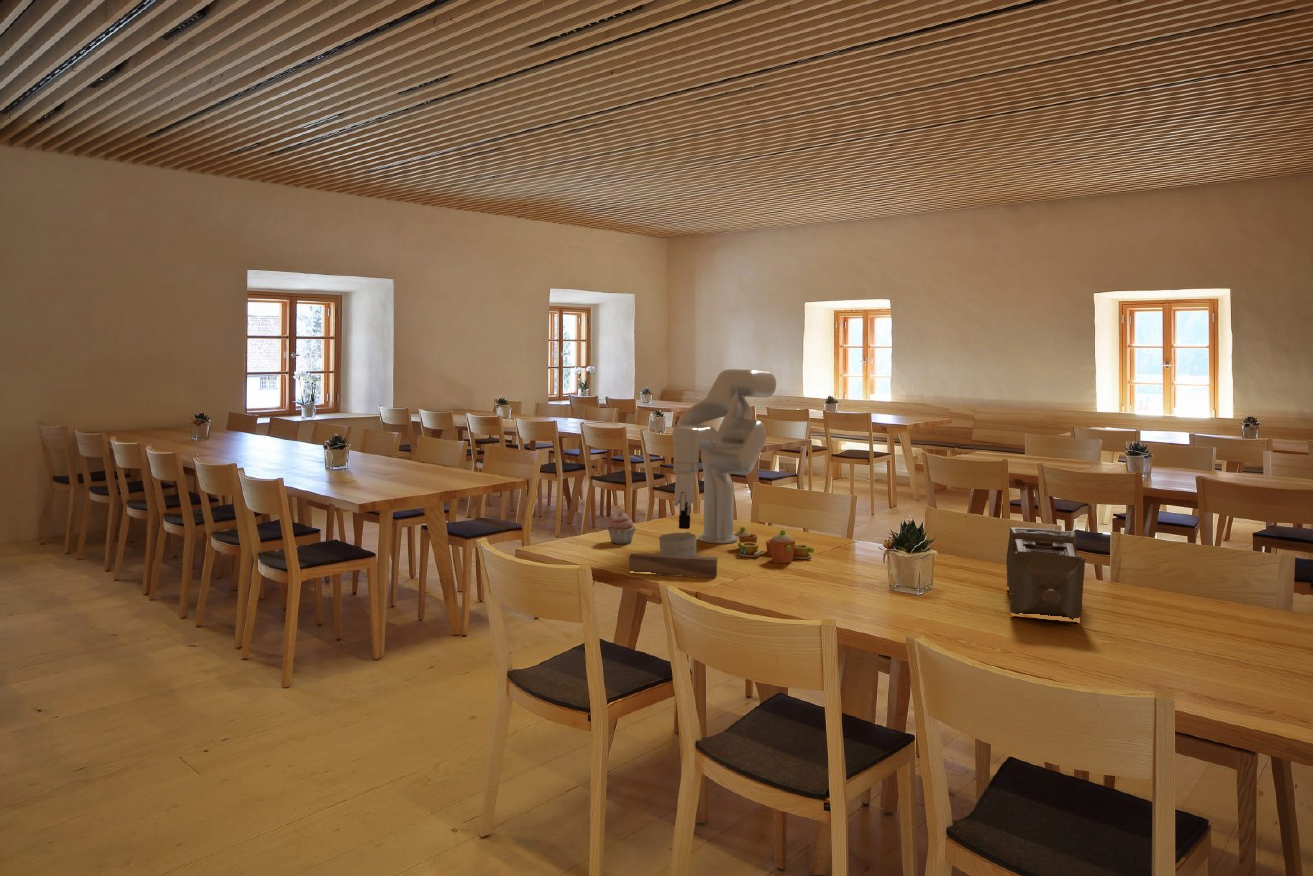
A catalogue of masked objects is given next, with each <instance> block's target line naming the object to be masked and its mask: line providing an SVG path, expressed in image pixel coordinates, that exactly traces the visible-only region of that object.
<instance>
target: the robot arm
mask: <svg viewBox="0 0 1313 876" xmlns="http://www.w3.org/2000/svg"><path fill="white" fill-rule="evenodd" d="M776 389H777V381H776V378H775V375H774V374H773V373H771V372H770V371H764V370H763V371H760V370H754V369H735V368H734V369H733V368H730V369H724V370H722V371H721V372H720V373H719V374H718V375H717V376H716V379H715V381H714V382H713V384H712V386H711V388H710V390H709V391H708V393H707V395H706V397H705V398H704V399H702V400H700V401H699V402H697V403H696V404H694V405H692V406H691V407H688V409H686V410H685V411H684V412H683V413H681V415H680V417H679V418H678V420H677V421H676V424H675V426H674V427H673V430H672V435H671V438H672V439H671V440H672V442H673V474H676V475H675V481H674V482H675V485H674V499H673V501H674V502H673V505H674V507H677V506H678V505H679V514H678V529H679V530H680V529H681V530H690V528H691V506H692V504H693V503H694V497H695V482H696V481H695V480H696V478H695V476H696V474H699V469H700V467H699V463H700V459H701V464H702V470H703V486H704V487H703V490H704V491H703V533H700V534H698V540H699V541H701V542H705V543H709V544H731V543H735V542H737V541H739V540H738V539H739V537H738V536H735V533H734V494H735V489H734V486H735V485H734V482H733V481H732V480H733V479H732V478H731V476H730V475H729V474H734V475H748V474H750V473H751V472H752V471H753V470H754V467H755V466H756V464H757V461H758V460H759V457H760V455H761V452H762V451H763V449H764V446H765V442H766V440H767V439H766V438H767V429H766V426H765V424H764V423H763V422H762V421H761V420H759V419H753V415H754V412H753V409H752V407H751V405H750V403H749V402H748V401H747V399H746V397H749V398H750V397H751V398H770V397H772V396H773V395H774V393H775V391H776ZM720 418H723V419H722V421H721V422H720V423H721V424H720V425H719V427H718V430H717V429H715V428H714V427H712V426H709V425H703V423H707V422H710V421H714V420H717V419H720ZM700 451H701V453H700ZM700 454H701V457H700ZM699 458H700V459H699Z"/></svg>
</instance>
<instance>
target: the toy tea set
mask: <svg viewBox="0 0 1313 876" xmlns="http://www.w3.org/2000/svg"><path fill="white" fill-rule="evenodd" d="M734 534H735V536H738V539H739V540H738V541H739V542H738V543H737V547H738V548H739V550H740V551H739V552H738V555H739V556H740V557H742V558H752V557H753V558H759V557H760V556H761V554H762V553H763V552H764V550H763V549H760V550H759V544H758V542H757V541H758V535H757V534H754V533H750V532H749V531H746V527H745V526H741V527H740V530H739V531H736V532H735V533H734ZM765 546H766V552H767V554H768V553H769V555H771V556H770V557H771V561H772V563H775V564H779V563H788V564H791V563H792V562H793V560H808V559H811V558H813V557H812V554H811V553H814V552H815V548H814V547H810V545H807V544H803V543H802V544H801V543H797V544H796V540H795V539H794V538H793V537H792V536H791V535H789V534H788V533H786V530H784V529H781V530H780V531H779V533H777V534H775V535H774V536H772V538H768V539H766V540H765ZM753 558H752V559H753Z"/></svg>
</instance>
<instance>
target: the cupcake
mask: <svg viewBox="0 0 1313 876" xmlns="http://www.w3.org/2000/svg"><path fill="white" fill-rule="evenodd" d="M606 529H607V531H608V534H609V536H610V541H611V543H612V544H614V543H615V544H614V545H629V544H631V543H632V541H633V537H634V533H635V531H636V529H637V528H636V526H634V522H633V521H632V519H631V518H630V517H629V516H628V514H627V513H625V512H622V511H620V512H619V513H618V515H616V516H613V517H612V519H611V521H609V523H608V527H606Z"/></svg>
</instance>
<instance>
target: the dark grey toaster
mask: <svg viewBox="0 0 1313 876" xmlns="http://www.w3.org/2000/svg"><path fill="white" fill-rule="evenodd" d="M1086 560H1087V559H1086V558H1085V557H1081V556H1077V532H1076V531H1074V530H1057V529H1047V528H1035V527H1034V528H1031V527H1012V526H1011V527H1010V528H1009V539H1008V544H1007V551H1006V562H1005V563H1006V587H1007V586H1008V587H1009V590H1010V591H1009V590H1008V591H1009V594H1010V593H1011V595H1010V605H1009V606H1010V607H1009V608H1010V609H1009V613H1010V612H1012V613H1015V614H1019V613H1023V614H1040V615H1048V616H1049V615H1050V616H1062V617H1069V618H1070V619H1072V620H1073V619H1074V618H1079V617H1081V618H1082V610H1083V596H1084V595H1083V593H1084V578H1085V570H1086V569H1085V566H1086Z"/></svg>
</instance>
